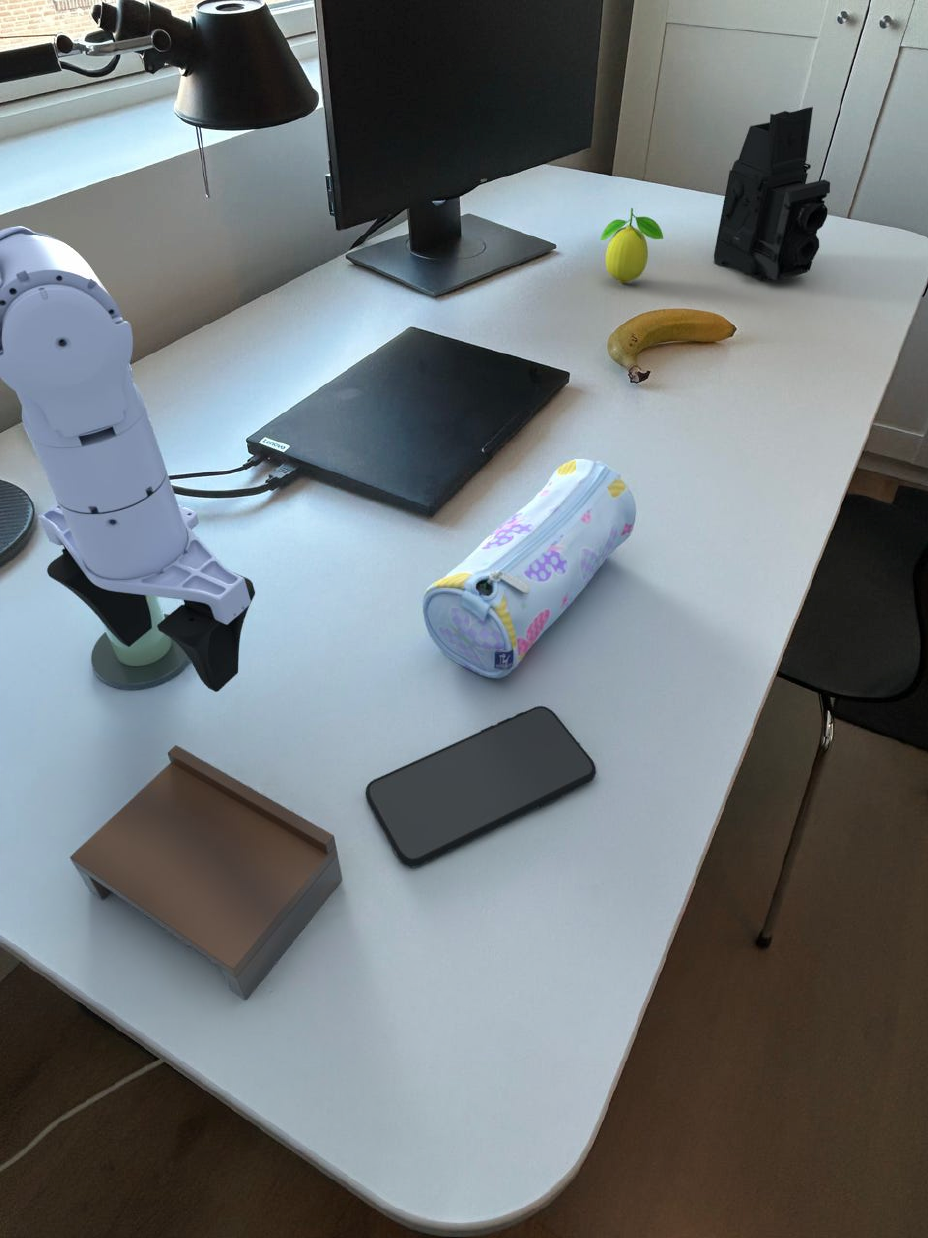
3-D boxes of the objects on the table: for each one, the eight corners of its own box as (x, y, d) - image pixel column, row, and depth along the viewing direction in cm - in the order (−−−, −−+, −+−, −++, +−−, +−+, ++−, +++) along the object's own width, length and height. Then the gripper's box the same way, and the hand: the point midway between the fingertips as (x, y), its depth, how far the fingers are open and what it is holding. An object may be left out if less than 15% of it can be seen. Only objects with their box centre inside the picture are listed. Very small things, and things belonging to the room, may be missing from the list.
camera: (771, 297, 117) (811, 130, 103) (703, 262, 126) (732, 104, 112) (825, 281, 121) (871, 118, 107) (755, 249, 129) (789, 94, 116)
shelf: (246, 1001, 50) (229, 961, 46) (89, 891, 55) (63, 848, 51) (343, 879, 55) (334, 835, 52) (192, 789, 60) (175, 744, 57)
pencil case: (505, 704, 66) (508, 612, 59) (413, 656, 69) (407, 564, 63) (635, 558, 78) (650, 468, 72) (551, 524, 82) (558, 435, 75)
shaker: (105, 662, 68) (76, 594, 63) (130, 624, 72) (104, 555, 67) (158, 669, 68) (133, 600, 63) (181, 630, 71) (159, 562, 66)
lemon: (656, 289, 119) (667, 212, 113) (618, 296, 118) (627, 219, 111) (630, 271, 124) (640, 196, 117) (594, 277, 122) (601, 202, 115)
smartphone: (358, 783, 60) (545, 699, 65) (359, 791, 60) (544, 708, 65) (406, 869, 55) (603, 771, 60) (407, 876, 56) (602, 779, 60)
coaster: (74, 682, 68) (71, 677, 67) (121, 612, 73) (119, 607, 73) (171, 696, 67) (169, 690, 66) (211, 623, 72) (210, 618, 72)
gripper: (265, 481, 46) (307, 658, 55) (78, 410, 52) (145, 582, 61) (167, 558, 42) (231, 735, 51) (-25, 472, 47) (64, 646, 57)
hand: (179, 657), depth 56 cm, fingers open, 7 cm apart
